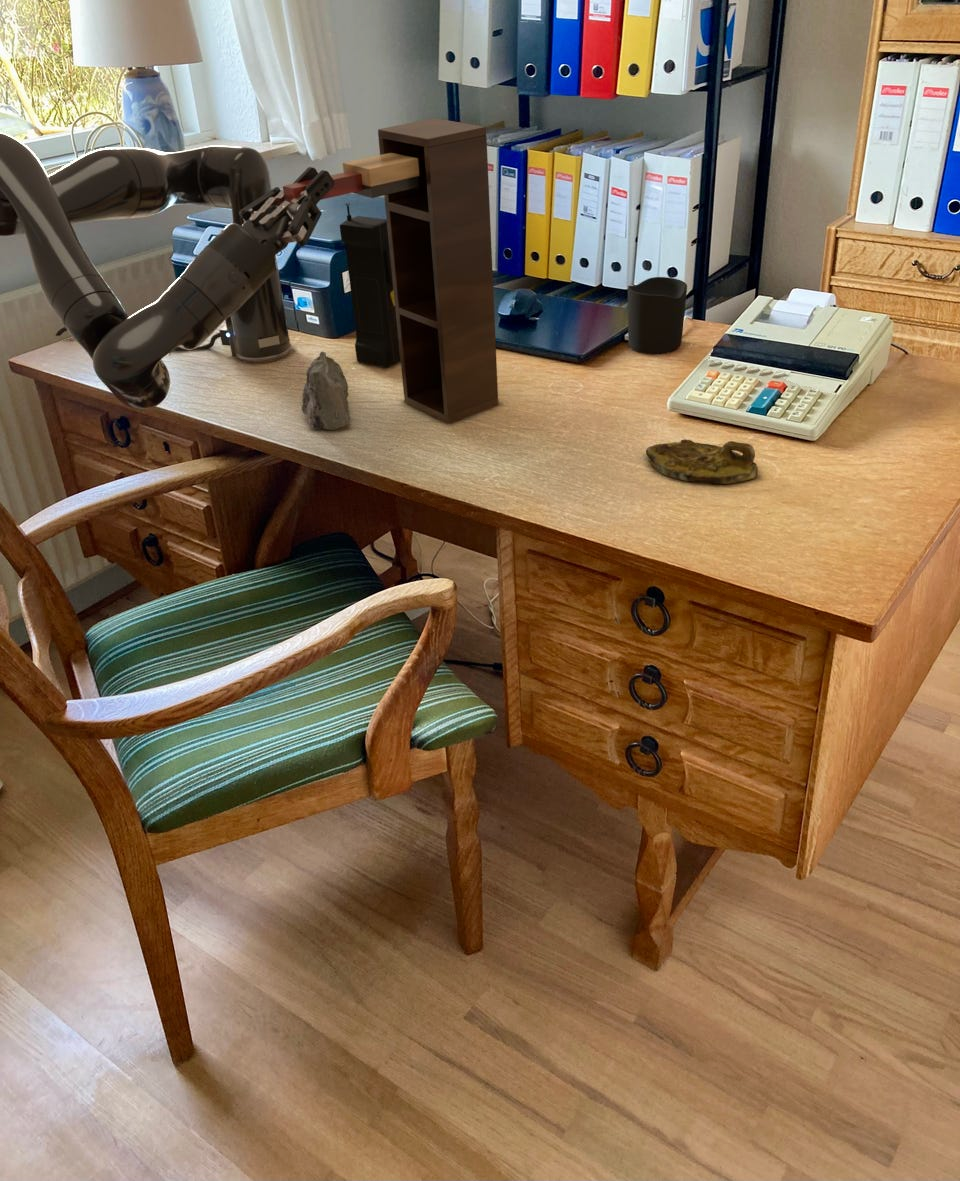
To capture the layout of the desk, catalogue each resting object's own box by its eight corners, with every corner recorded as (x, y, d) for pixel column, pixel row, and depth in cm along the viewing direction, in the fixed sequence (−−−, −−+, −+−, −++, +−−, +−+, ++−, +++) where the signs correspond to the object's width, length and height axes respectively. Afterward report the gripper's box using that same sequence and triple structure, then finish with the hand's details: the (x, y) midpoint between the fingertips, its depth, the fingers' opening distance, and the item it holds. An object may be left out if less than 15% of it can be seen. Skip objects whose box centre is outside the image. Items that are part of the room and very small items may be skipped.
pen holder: (687, 354, 166) (691, 294, 161) (629, 357, 167) (631, 296, 161) (678, 334, 174) (682, 275, 168) (623, 337, 174) (624, 278, 169)
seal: (634, 479, 134) (748, 498, 128) (633, 449, 131) (750, 466, 125) (655, 442, 140) (766, 458, 135) (655, 412, 137) (768, 427, 132)
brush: (278, 206, 127) (273, 177, 125) (393, 180, 136) (390, 152, 134) (303, 214, 123) (299, 184, 122) (420, 187, 132) (418, 158, 130)
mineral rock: (329, 391, 161) (320, 329, 156) (387, 401, 157) (380, 338, 151) (279, 424, 152) (268, 359, 146) (339, 436, 147) (330, 369, 142)
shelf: (404, 402, 156) (377, 129, 135) (453, 384, 161) (434, 118, 139) (448, 424, 149) (427, 139, 127) (498, 404, 154) (486, 126, 132)
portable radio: (414, 357, 171) (400, 202, 157) (393, 369, 167) (376, 211, 153) (377, 350, 175) (359, 197, 161) (355, 362, 171) (335, 206, 157)
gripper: (219, 284, 131) (310, 190, 134) (274, 308, 122) (370, 207, 124) (181, 238, 125) (277, 142, 128) (236, 260, 116) (338, 156, 119)
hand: (322, 175), depth 126 cm, fingers closed on brush, 2 cm apart
